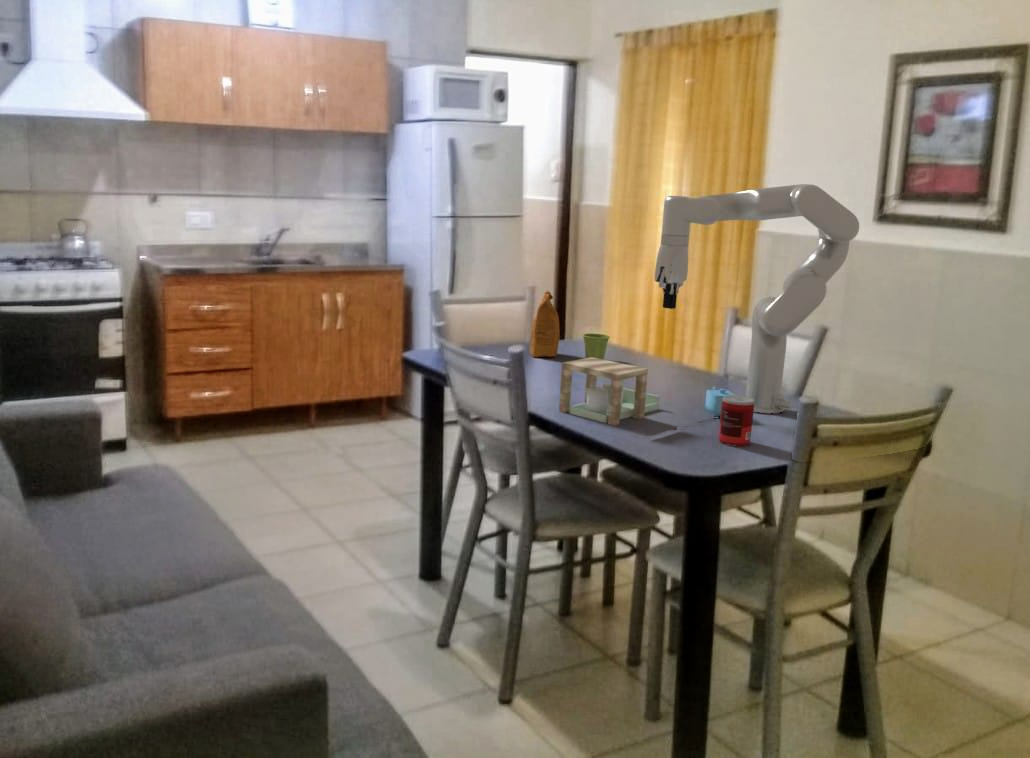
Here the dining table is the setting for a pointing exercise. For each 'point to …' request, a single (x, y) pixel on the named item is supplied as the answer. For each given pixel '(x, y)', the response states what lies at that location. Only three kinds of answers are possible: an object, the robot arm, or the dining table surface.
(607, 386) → the white piece
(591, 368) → the miniature wooden table
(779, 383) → the robot arm
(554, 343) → the coffee package
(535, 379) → the dining table surface
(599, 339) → the plant pot
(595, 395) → the white rounded cylinder
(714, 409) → the teapot
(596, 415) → the tray
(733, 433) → the canned food
